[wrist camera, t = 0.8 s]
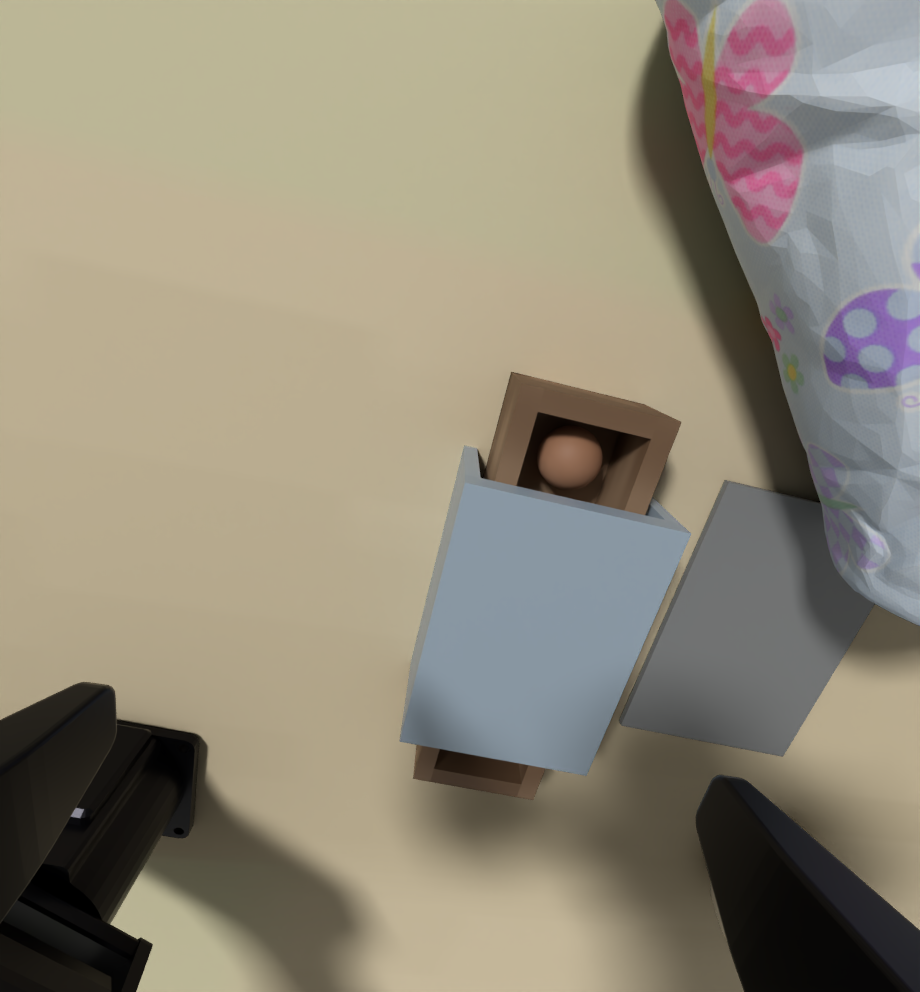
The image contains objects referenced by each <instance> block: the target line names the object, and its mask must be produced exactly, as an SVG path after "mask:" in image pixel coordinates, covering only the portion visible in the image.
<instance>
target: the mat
mask: <svg viewBox="0 0 920 992" xmlns="http://www.w3.org/2000/svg"><path fill="white" fill-rule="evenodd" d="M874 605H875V603H873V602H871V601H869V600H868V599H866V598H865V597H864V596H862V595H861V594H860V593H858V592H856V591H854V590H853V588H852V587H851V586H850V585H849V584H848V583H847V582H846V581H845V580H844V579H843V578H842V576H841V575H840V574H839V572H838V571H837V569H836V568H835V566H834V563H833V561H832V558H831V555H830V552H829V548H828V544H827V539H826V535H825V530H824V521H823V512H822V505H821V503H820V502H816V501H812V500H808V499H803V498H799V497H795V496H791V495H786V494H782V493H778V492H774V491H769V490H765V489H761V488H757V487H753V486H748V485H744V484H740V483H736V482H731V481H727V480H725V481H724V483H723V486H722V488H721V490H720V492H719V495H718V497H717V499H716V501H715V504H714V506H713V508H712V511H711V513H710V515H709V517H708V520H707V522H706V524H705V526H704V529H703V531H702V533H701V536H700V538H699V540H698V542H697V545H696V547H695V549H694V551H693V554H692V556H691V558H690V560H689V563H688V565H687V567H686V570H685V572H684V574H683V576H682V579H681V581H680V583H679V585H678V588H677V590H676V592H675V595H674V597H673V599H672V601H671V604H670V606H669V608H668V610H667V613H666V615H665V617H664V619H663V622H662V624H661V626H660V629H659V631H658V633H657V635H656V638H655V640H654V642H653V644H652V647H651V649H650V651H649V654H648V656H647V658H646V660H645V663H644V665H643V667H642V669H641V672H640V674H639V676H638V678H637V681H636V683H635V685H634V688H633V690H632V692H631V694H630V697H629V699H628V701H627V703H626V706H625V708H624V710H623V713H622V715H621V717H620V719H619V722H620V724H621V726H626V727H632V728H637V729H642V730H647V731H652V732H658V733H663V734H668V735H673V736H678V737H684V738H689V739H694V740H699V741H704V742H710V743H715V744H720V745H725V746H730V747H736V748H741V749H746V750H751V751H756V752H762V753H767V754H772V755H777V756H782V757H783V756H784V754H785V752H786V751H787V749H788V747H789V746H790V744H791V742H792V741H793V739H794V737H795V736H796V734H797V732H798V731H799V729H800V727H801V726H802V724H803V722H804V721H805V719H806V717H807V716H808V714H809V712H810V711H811V709H812V707H813V706H814V704H815V702H816V701H817V699H818V697H819V696H820V694H821V693H822V691H823V689H824V688H825V686H826V684H827V683H828V681H829V679H830V678H831V676H832V674H833V673H834V671H835V669H836V668H837V666H838V664H839V663H840V661H841V659H842V658H843V656H844V654H845V653H846V651H847V649H848V648H849V646H850V644H851V643H852V641H853V639H854V638H855V636H856V634H857V633H858V631H859V629H860V628H861V626H862V625H863V623H864V621H865V620H866V618H867V616H868V615H869V613H870V611H871V610H872V608H873V606H874Z"/></svg>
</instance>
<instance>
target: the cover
mask: <svg viewBox="0 0 920 992" xmlns="http://www.w3.org/2000/svg"><path fill="white" fill-rule="evenodd" d="M690 536H691V533H690V532H689V531H688V530H687V529H686V528H685V527H684V526H682V525H681V524H680V523H679V522H678V521H677V520H676V519H675V518H674V517H673V516H672V515H671V514H670V513H669V512H668V511H667V510H665V509H664V508H663V507H662V506H661V505H660V504H659V503H658V502H657V501H656V500H655V499H654V498H653V497H652V499H651V501H650V504H649V506H648V509H647V511H646V514H645V515H641V514H637V513H632V512H628V511H624V510H619V509H615V508H610V507H606V506H602V505H597V504H593V503H588V502H584V501H580V500H575V499H571V498H566V497H562V496H558V495H553V494H549V493H544V492H540V491H536V490H531V489H527V488H523V487H518V486H514V485H509V484H505V483H501V482H496V481H492V480H487V479H483V478H481V477H480V468H479V460H478V452H477V448H473V447H469V446H464V448H463V452H462V456H461V460H460V464H459V468H458V473H457V477H456V481H455V485H454V489H453V493H452V497H451V501H450V505H449V509H448V513H447V517H446V521H445V525H444V529H443V533H442V538H441V542H440V546H439V550H438V554H437V558H436V562H435V566H434V570H433V574H432V578H431V582H430V586H429V590H428V594H427V599H426V603H425V607H424V611H423V615H422V619H421V623H420V627H419V631H418V635H417V639H416V643H415V647H414V651H413V655H412V660H411V666H410V672H409V679H408V686H407V693H406V700H405V707H404V714H403V720H402V727H401V734H400V742H405V743H411V744H416V745H421V746H427V747H432V748H438V749H443V750H449V751H454V752H460V753H465V754H471V755H476V756H481V757H487V758H492V759H498V760H503V761H509V762H514V763H520V764H525V765H531V766H536V767H542V768H547V769H552V770H558V771H563V772H569V773H574V774H580V775H585V776H587V773H588V771H589V769H590V766H591V764H592V762H593V759H594V757H595V755H596V753H597V750H598V748H599V746H600V743H601V741H602V739H603V736H604V734H605V732H606V729H607V727H608V725H609V723H610V720H611V718H612V716H613V713H614V711H615V709H616V706H617V704H618V702H619V699H620V697H621V695H622V693H623V690H624V688H625V686H626V683H627V681H628V679H629V676H630V674H631V672H632V669H633V667H634V665H635V663H636V660H637V658H638V656H639V653H640V651H641V649H642V646H643V644H644V642H645V639H646V637H647V635H648V633H649V630H650V628H651V626H652V623H653V621H654V619H655V616H656V614H657V612H658V609H659V607H660V605H661V603H662V600H663V598H664V596H665V593H666V591H667V589H668V586H669V584H670V582H671V579H672V577H673V575H674V572H675V570H676V568H677V566H678V563H679V561H680V559H681V556H682V554H683V552H684V549H685V547H686V545H687V542H688V540H689V538H690Z"/></svg>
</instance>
